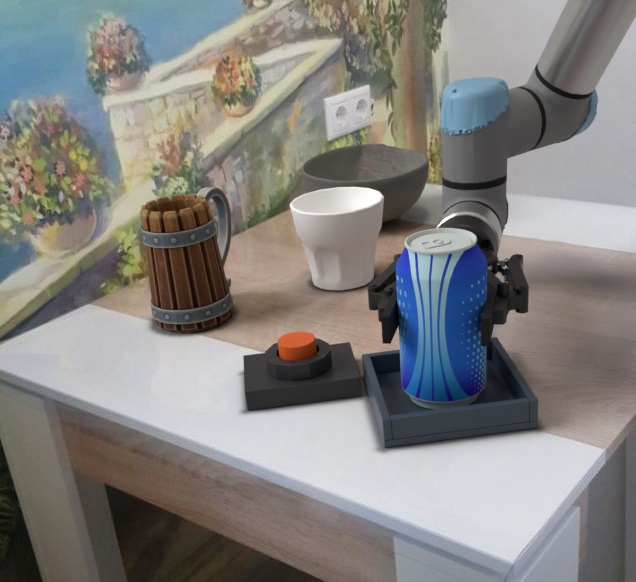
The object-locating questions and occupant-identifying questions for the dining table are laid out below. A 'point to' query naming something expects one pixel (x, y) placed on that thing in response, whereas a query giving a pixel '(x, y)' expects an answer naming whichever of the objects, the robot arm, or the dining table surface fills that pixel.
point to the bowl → (371, 173)
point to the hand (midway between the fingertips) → (434, 331)
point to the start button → (297, 346)
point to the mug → (188, 260)
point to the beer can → (441, 317)
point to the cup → (339, 234)
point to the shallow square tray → (449, 423)
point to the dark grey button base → (301, 377)
